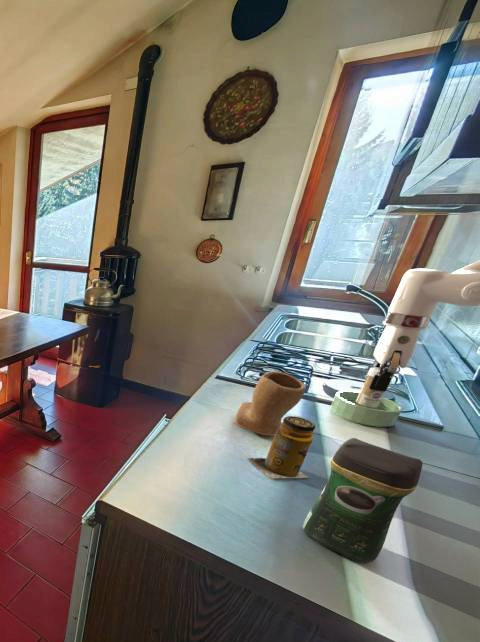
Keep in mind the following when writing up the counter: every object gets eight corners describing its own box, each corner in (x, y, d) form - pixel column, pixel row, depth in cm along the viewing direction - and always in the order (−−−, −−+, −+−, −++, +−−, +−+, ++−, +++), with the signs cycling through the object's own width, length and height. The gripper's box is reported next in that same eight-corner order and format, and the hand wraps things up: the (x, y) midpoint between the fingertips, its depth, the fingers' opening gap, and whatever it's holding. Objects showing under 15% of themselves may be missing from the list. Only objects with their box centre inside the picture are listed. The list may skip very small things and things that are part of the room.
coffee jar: (382, 550, 65) (436, 456, 57) (367, 572, 61) (423, 474, 53) (311, 515, 72) (351, 429, 65) (293, 533, 68) (334, 443, 61)
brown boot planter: (284, 445, 94) (306, 389, 88) (228, 428, 102) (245, 375, 96) (291, 423, 105) (311, 371, 99) (239, 409, 112) (255, 360, 106)
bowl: (387, 414, 110) (395, 398, 108) (399, 433, 100) (408, 416, 98) (326, 402, 117) (333, 386, 115) (332, 419, 107) (339, 403, 105)
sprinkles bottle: (360, 418, 106) (381, 372, 101) (346, 410, 110) (365, 366, 105) (377, 418, 106) (399, 373, 101) (362, 411, 110) (383, 366, 105)
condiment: (308, 478, 83) (330, 429, 78) (270, 479, 82) (289, 430, 77) (281, 458, 89) (300, 412, 84) (246, 459, 89) (262, 413, 84)
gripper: (438, 330, 89) (402, 401, 96) (416, 316, 102) (386, 380, 109) (393, 325, 93) (361, 394, 100) (377, 312, 106) (350, 374, 113)
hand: (375, 386), depth 105 cm, fingers closed on sprinkles bottle, 4 cm apart
